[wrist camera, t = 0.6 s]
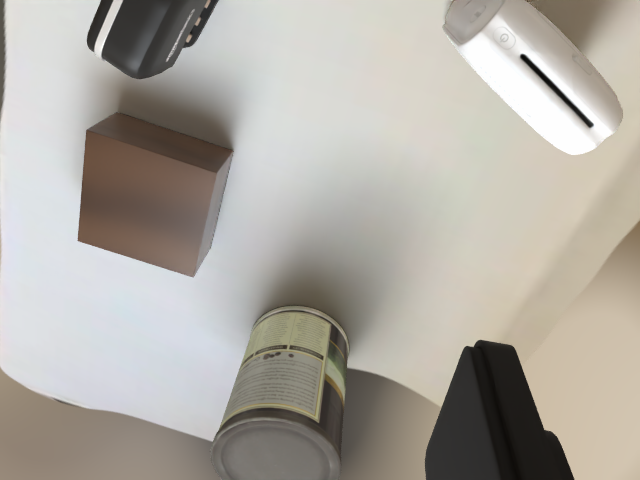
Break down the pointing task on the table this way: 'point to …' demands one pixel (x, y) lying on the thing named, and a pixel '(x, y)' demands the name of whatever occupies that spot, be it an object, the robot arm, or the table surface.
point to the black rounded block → (146, 32)
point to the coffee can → (286, 401)
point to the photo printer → (535, 71)
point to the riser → (151, 192)
